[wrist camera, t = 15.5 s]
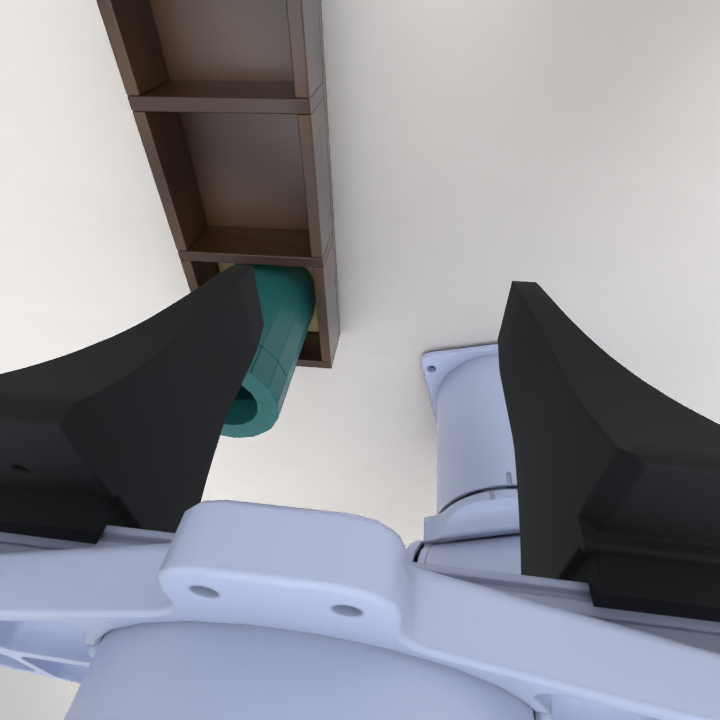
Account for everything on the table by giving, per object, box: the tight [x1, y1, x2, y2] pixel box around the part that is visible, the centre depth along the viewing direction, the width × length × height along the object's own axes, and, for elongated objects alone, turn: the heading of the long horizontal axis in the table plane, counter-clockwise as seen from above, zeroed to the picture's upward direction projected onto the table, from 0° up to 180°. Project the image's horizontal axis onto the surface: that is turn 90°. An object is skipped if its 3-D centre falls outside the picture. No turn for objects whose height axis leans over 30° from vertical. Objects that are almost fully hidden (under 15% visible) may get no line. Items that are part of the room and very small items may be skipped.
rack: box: [97, 0, 340, 368], centre depth 19 cm, size 19×7×3 cm, turn 1°
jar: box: [220, 263, 316, 438], centre depth 21 cm, size 5×5×8 cm
